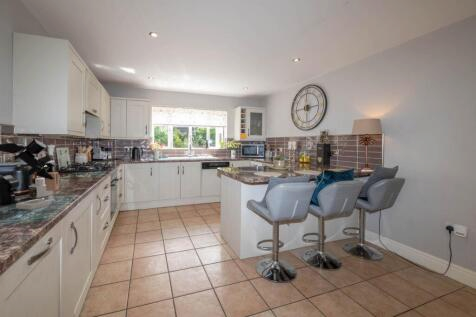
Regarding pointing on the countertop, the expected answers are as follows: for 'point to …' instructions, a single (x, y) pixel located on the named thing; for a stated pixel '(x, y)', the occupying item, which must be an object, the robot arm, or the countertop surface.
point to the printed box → (38, 188)
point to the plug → (52, 182)
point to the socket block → (33, 204)
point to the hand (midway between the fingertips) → (55, 178)
